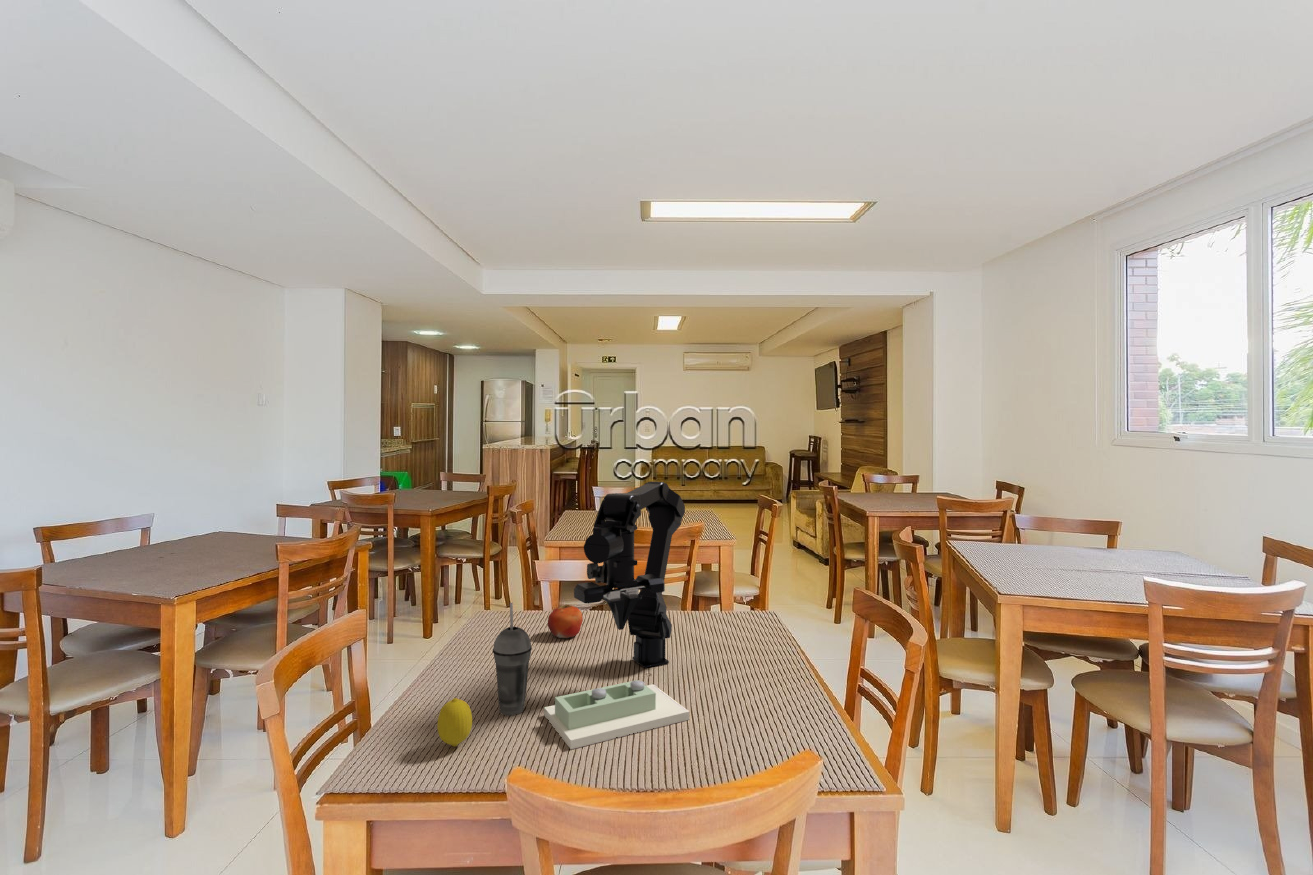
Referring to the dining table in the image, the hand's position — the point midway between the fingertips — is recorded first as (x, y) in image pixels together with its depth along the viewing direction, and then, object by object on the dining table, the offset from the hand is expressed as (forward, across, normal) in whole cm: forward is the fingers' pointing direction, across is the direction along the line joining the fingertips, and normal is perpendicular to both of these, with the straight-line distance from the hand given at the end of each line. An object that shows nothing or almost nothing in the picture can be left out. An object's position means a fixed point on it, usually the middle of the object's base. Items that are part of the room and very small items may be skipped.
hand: (620, 629), depth 125 cm
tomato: (+12, -3, -36) cm, 38 cm away
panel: (+10, +9, +12) cm, 18 cm away
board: (+12, +7, +12) cm, 18 cm away
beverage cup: (+12, +23, -1) cm, 26 cm away
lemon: (+12, +35, +8) cm, 38 cm away
